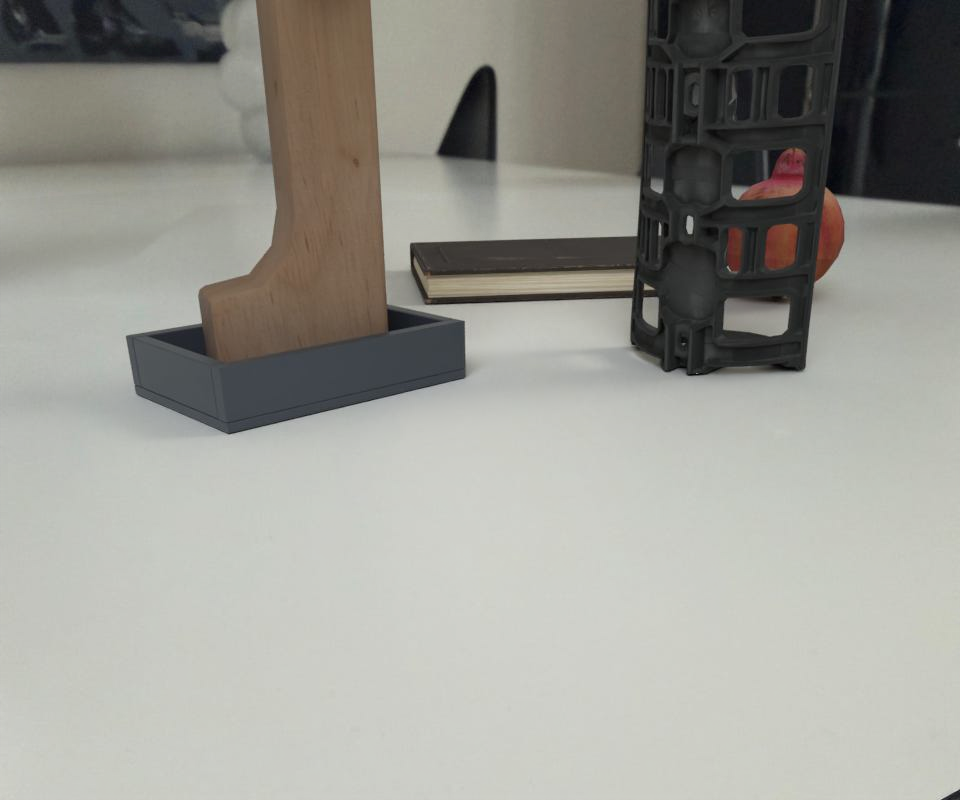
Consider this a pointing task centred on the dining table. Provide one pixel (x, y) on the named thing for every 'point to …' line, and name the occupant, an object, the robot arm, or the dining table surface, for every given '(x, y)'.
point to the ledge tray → (295, 371)
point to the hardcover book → (526, 269)
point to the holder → (727, 182)
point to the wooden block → (312, 191)
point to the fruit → (785, 236)
